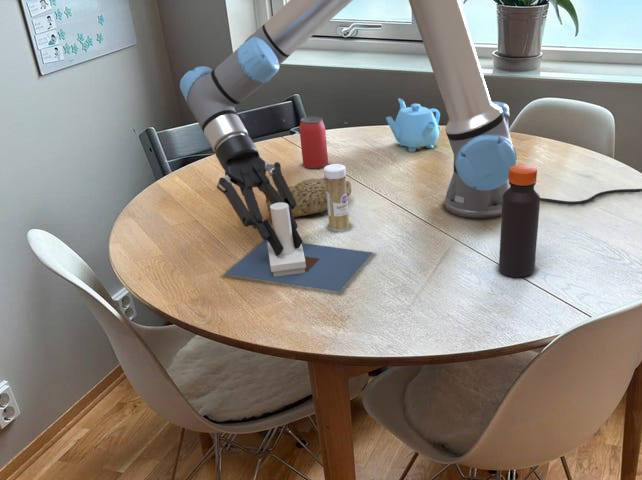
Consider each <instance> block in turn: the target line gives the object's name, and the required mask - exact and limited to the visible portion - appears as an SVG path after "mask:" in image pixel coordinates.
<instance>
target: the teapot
mask: <svg viewBox="0 0 642 480" xmlns="http://www.w3.org/2000/svg"><path fill="white" fill-rule="evenodd" d="M397 101H398V103H399V111H398V113H397V116H396V118H395V120H394V119H393V116H391V115H390V116H387V117H385V120H386V123H387V124H388V126H389V128H390V130H391V132H392V135H393V137H394V139H395V140H396V141H397V142H398V143H399V144H398V145H399V146H400V147H408V149H407V151H408V152H413V153H414V152H416V151H417V148H421V147H425V148H426V149H434V144H436V143H437V141H438V140H439V137H440V132H441V126H440V125H439V123H440V118H441V112H440V111H439V110H438V109H436V108H432V107H431V108H428V107H426V106H422V105H421V104H420V103H412V104H410V106H406V102H405V101H404V99H402V98H397ZM434 112H435V115H434Z"/></svg>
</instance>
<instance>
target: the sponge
mask: <svg viewBox="0 0 642 480" xmlns="http://www.w3.org/2000/svg"><path fill="white" fill-rule="evenodd" d="M345 181H346V192H347V198H349V196H351V194H352V184H351V182H350V181H349V180H348V181H347V180H345ZM288 187H289V189H290V191H291V193H292V195H293V198H294V200H295V202H296V204H297V205H296V207H295V209H294V210H293V212H291V214H292V216H293V217H294V218H297V217H303V216H307V215H313V214H319V213H323V212H326V211H328V209H327V198H326V182H325V177H319V178H310V179H305V180H304V179H303V180H302V181H300V182H298V183H296V184H295V185H293V186H288ZM276 191H277V192H278V190H277V189H276ZM278 194H279V192H278ZM279 195H280V194H279ZM264 197H265V205H266V208H267V213H268V215H269V217H270V219H271V220H272V217H271V211H270V206H271V205H272V204H271V202H270V201H269V200H268V199H267V197H266V196H265V195H264Z"/></svg>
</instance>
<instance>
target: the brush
mask: <svg viewBox="0 0 642 480" xmlns="http://www.w3.org/2000/svg"><path fill="white" fill-rule="evenodd" d="M270 211H271V217H272V219H271V222H272V228H273V230H274V232H275V234H276V236H277V237H278V239H279V241H280V243H281V245H282V246H283V248H284V249H283V251H282V252H281V254H280V255H278V256H276V254H275V252H274V251H273V249H272V247H271V245H270V243H269V242H268V243H267V244H268V252H269V260H270V267H271V272H273V276H274V277H277V276H285V275H292V274H300V273H305V268H306V262H305V257H304V253H303V248H302V244H301V245H300V247H299V248H297V249H295V247H294V243H293V236H292V228H291V221H290V214H289V207H288V204H287V203H283V202H279V203H274V204H272V205H271V206H270ZM271 217H270V218H271Z"/></svg>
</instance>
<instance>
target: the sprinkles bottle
mask: <svg viewBox="0 0 642 480" xmlns="http://www.w3.org/2000/svg"><path fill="white" fill-rule="evenodd" d="M346 169H347V168H346V166H345V165H343V164H339V163H332V164H327V165H326V166H325V167H323V178H325V182H326V198H327V209H328V210H327V215H328V228H329V229H331V230H335V231H342V230H345V229H348V228H349V227H350V221H349V220H350V219H349V203H348V197H347V192H346V181H347V180H346V176H347V171H346ZM345 180H346V181H345Z"/></svg>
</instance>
